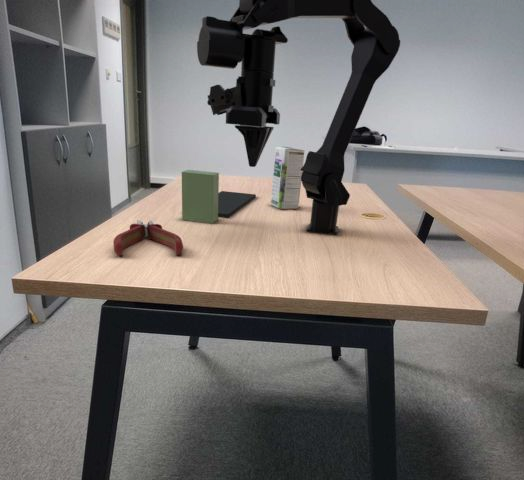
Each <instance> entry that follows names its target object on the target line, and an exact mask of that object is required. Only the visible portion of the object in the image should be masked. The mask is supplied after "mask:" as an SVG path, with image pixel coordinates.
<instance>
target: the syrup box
mask: <svg viewBox="0 0 524 480" xmlns="http://www.w3.org/2000/svg"><path fill="white" fill-rule="evenodd" d="M304 160H305V149H300V148H296V147H292V146H276V147H275V152H274V161H273V162H274V163H273V173H272V185H271V187H272V188H271V197H270V198H271V199H270V205H271V206H272V207H275V208H276V209H279V210H297V209H299V205H300V197H301V188H302V181H301V175H302V172H303V171H301V168H302V167H303V166H304V162H305V161H304Z"/></svg>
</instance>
